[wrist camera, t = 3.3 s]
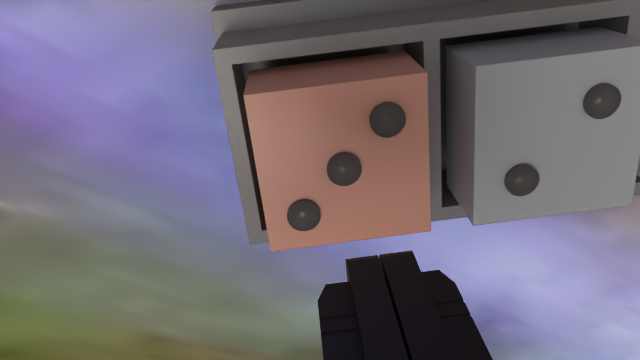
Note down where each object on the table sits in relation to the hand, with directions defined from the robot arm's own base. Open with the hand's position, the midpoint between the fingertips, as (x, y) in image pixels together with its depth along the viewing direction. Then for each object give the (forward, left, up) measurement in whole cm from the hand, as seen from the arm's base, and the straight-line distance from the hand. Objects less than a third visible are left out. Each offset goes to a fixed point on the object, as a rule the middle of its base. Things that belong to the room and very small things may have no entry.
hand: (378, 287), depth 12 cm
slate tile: (-6, -4, -10) cm, 13 cm away
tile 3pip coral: (0, 0, -11) cm, 11 cm away
